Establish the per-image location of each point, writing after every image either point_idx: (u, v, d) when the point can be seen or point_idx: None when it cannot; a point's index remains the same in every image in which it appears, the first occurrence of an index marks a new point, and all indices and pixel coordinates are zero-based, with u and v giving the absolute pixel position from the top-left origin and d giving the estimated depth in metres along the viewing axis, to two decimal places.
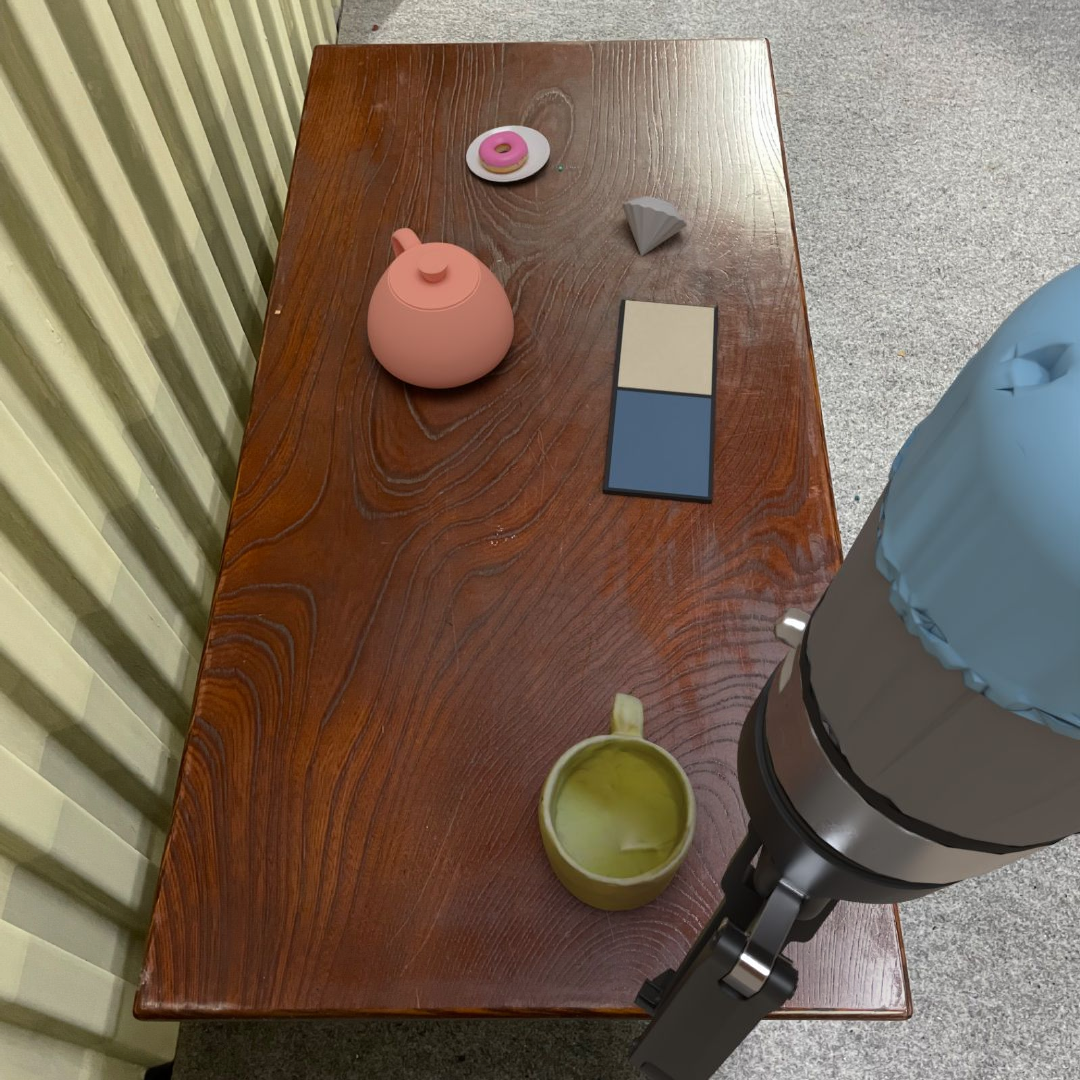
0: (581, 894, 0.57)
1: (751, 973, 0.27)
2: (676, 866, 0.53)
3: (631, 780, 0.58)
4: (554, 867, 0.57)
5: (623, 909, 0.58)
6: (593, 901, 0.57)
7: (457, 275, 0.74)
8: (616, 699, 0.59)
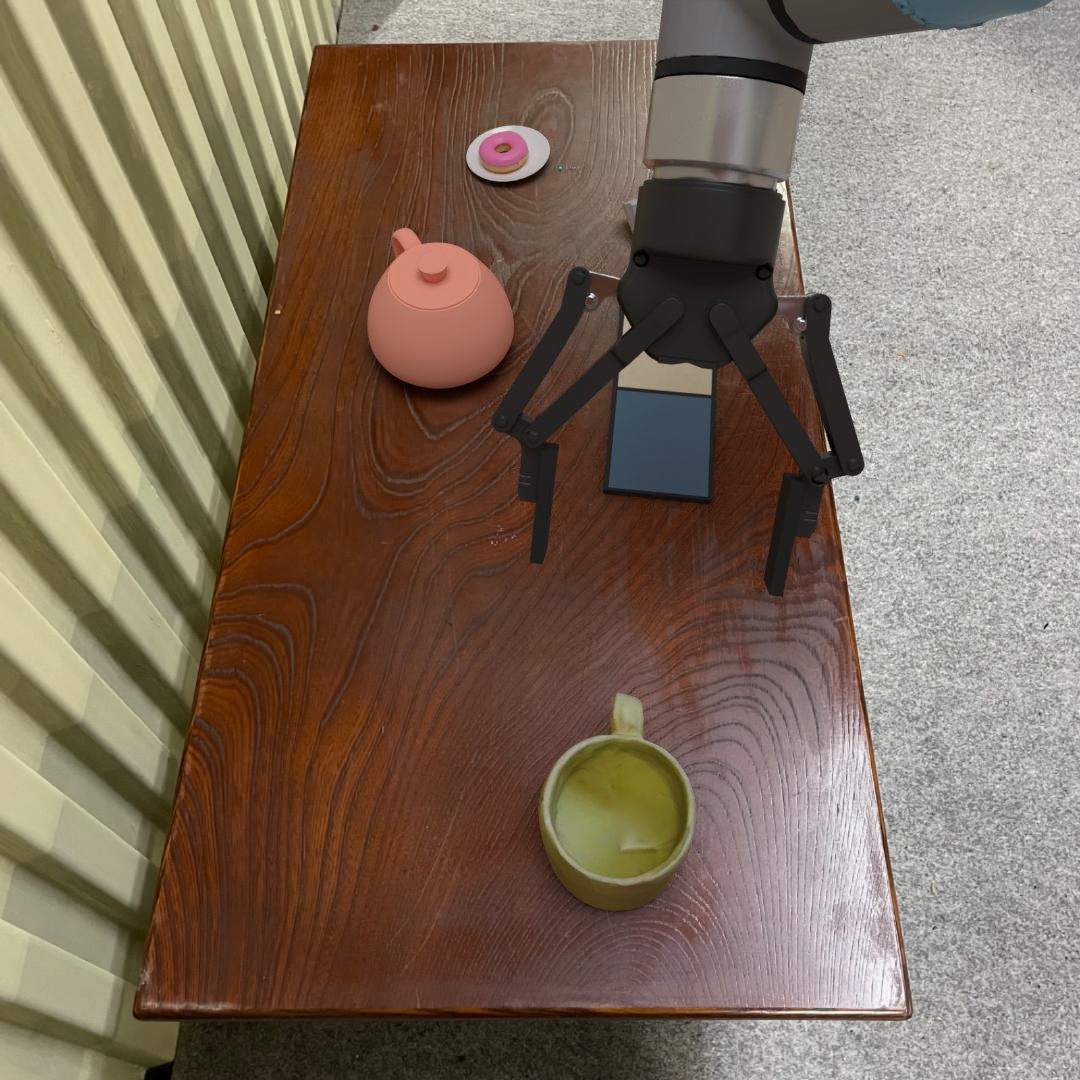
0: (581, 894, 0.57)
1: None
2: (676, 866, 0.53)
3: (631, 780, 0.58)
4: (554, 867, 0.57)
5: (623, 909, 0.58)
6: (593, 901, 0.57)
7: (457, 275, 0.74)
8: (616, 699, 0.59)
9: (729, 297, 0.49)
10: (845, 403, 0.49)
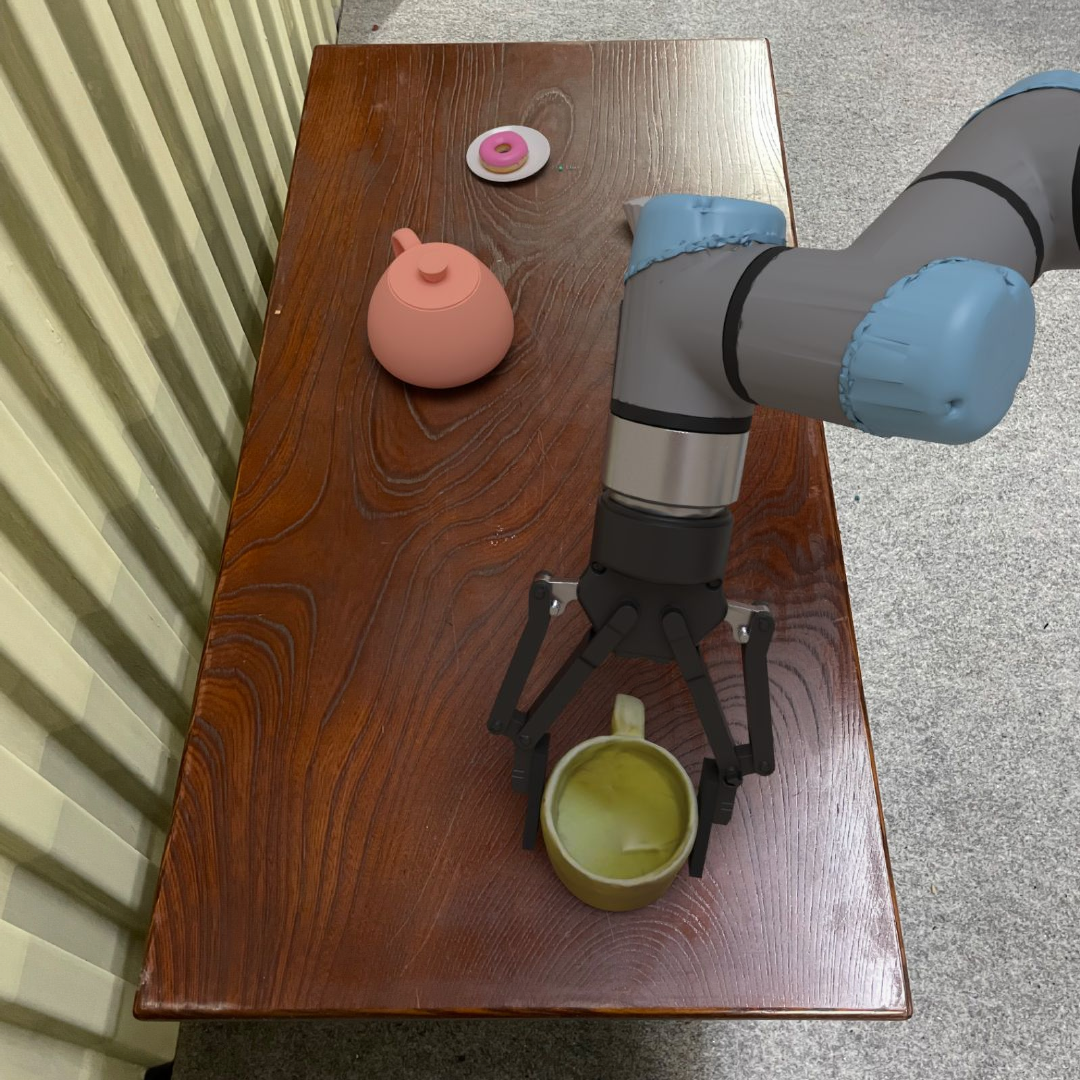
0: (583, 895, 0.57)
1: (535, 578, 0.53)
2: (678, 866, 0.53)
3: (633, 781, 0.58)
4: (556, 868, 0.57)
5: (625, 910, 0.58)
6: (595, 902, 0.57)
7: (457, 275, 0.74)
8: (617, 700, 0.59)
9: (681, 603, 0.52)
10: (769, 713, 0.53)
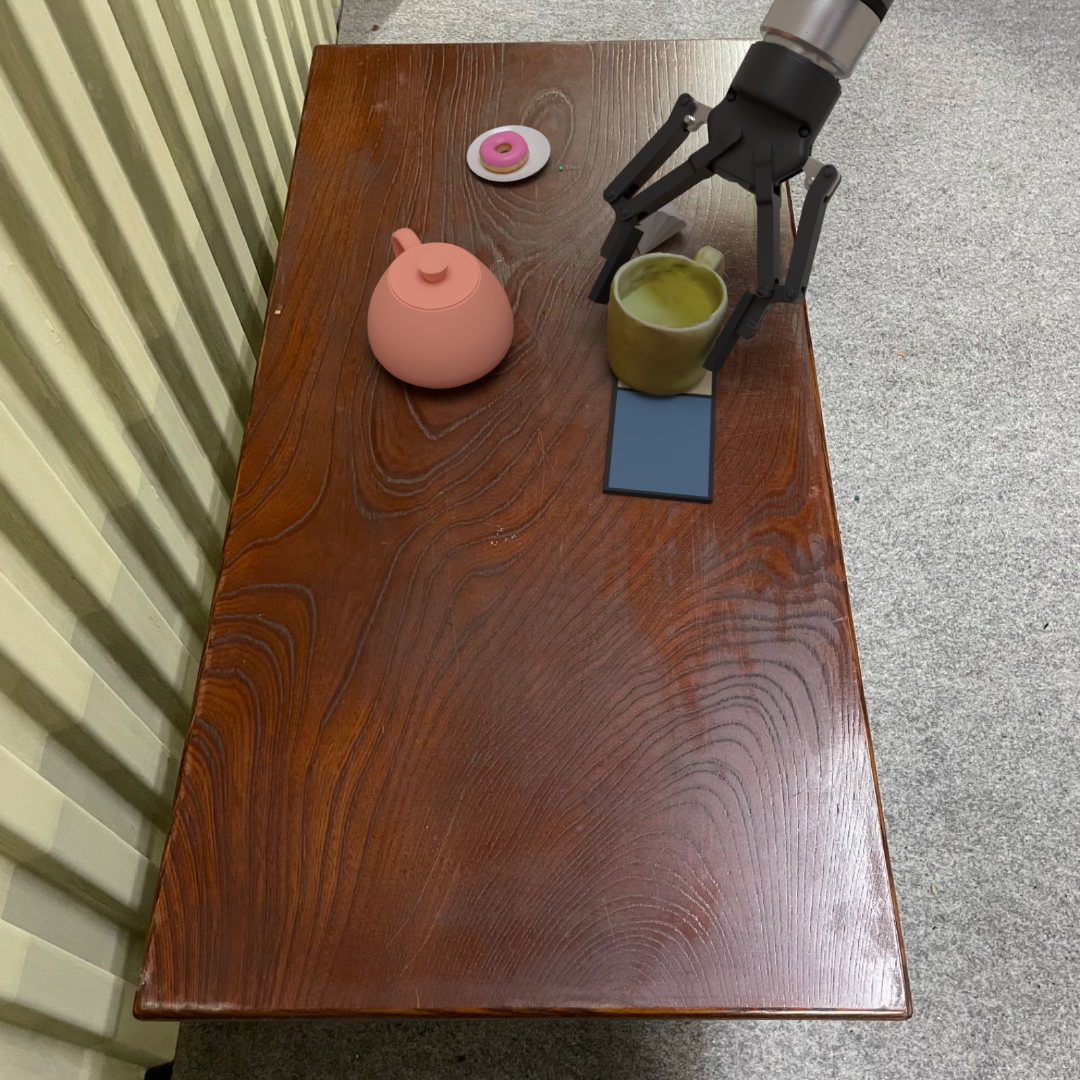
0: (616, 356, 0.76)
1: None
2: (687, 335, 0.71)
3: (689, 299, 0.76)
4: (607, 333, 0.77)
5: (640, 384, 0.76)
6: (622, 366, 0.76)
7: (457, 275, 0.74)
8: (706, 246, 0.77)
9: (775, 141, 0.69)
10: (808, 248, 0.69)
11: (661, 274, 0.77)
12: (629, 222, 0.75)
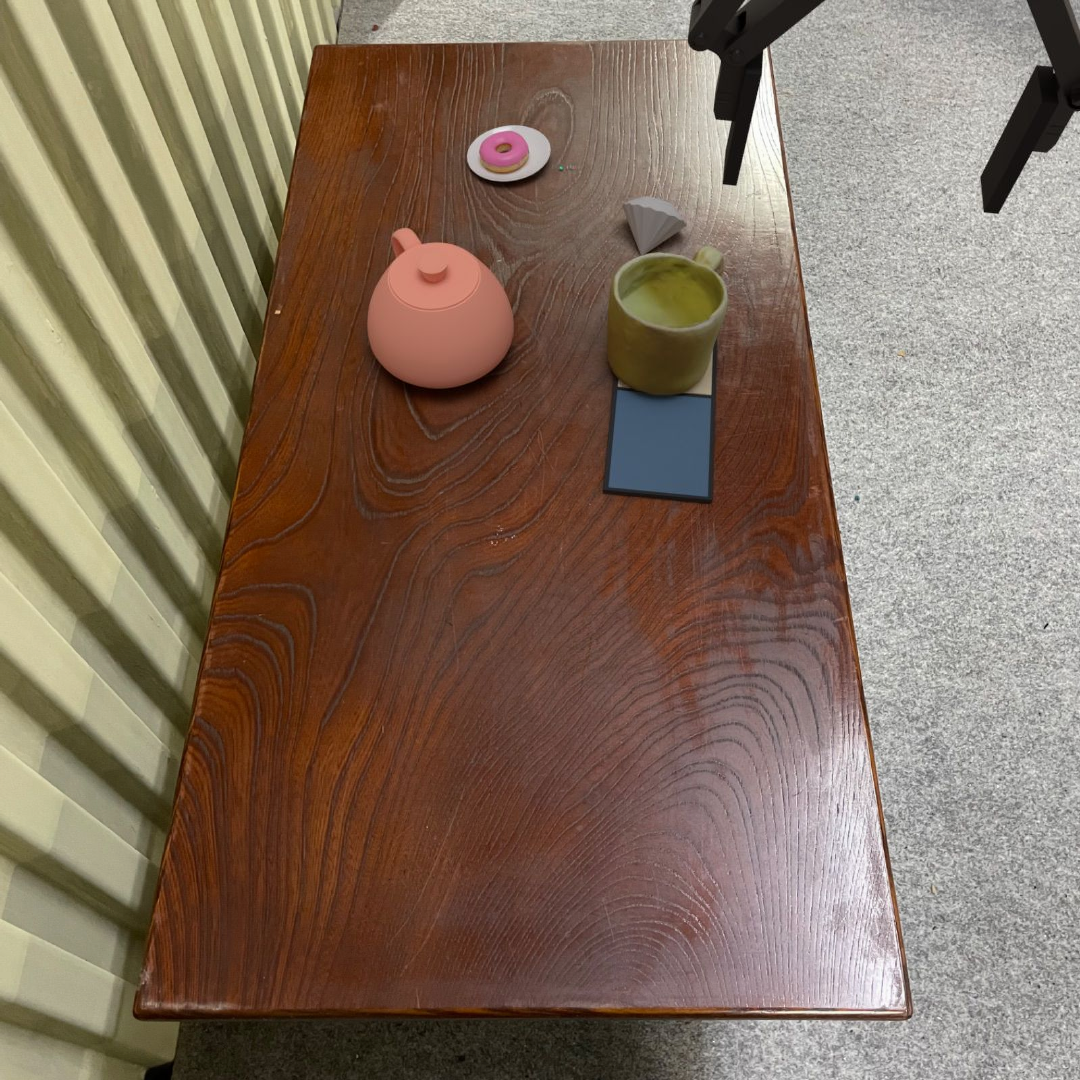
0: (616, 356, 0.76)
1: None
2: (687, 334, 0.71)
3: (689, 299, 0.76)
4: (607, 333, 0.77)
5: (640, 384, 0.76)
6: (622, 366, 0.76)
7: (457, 275, 0.74)
8: (706, 246, 0.77)
9: None
10: None
11: (661, 274, 0.77)
12: None
